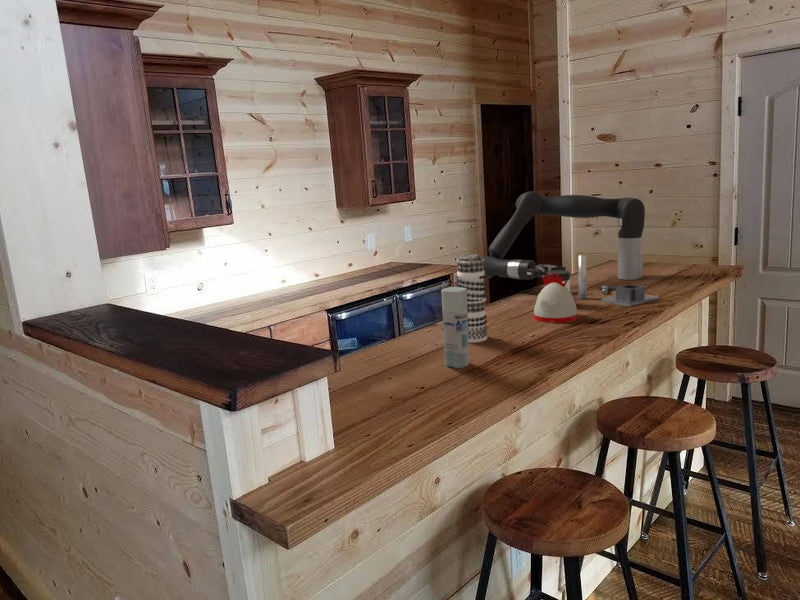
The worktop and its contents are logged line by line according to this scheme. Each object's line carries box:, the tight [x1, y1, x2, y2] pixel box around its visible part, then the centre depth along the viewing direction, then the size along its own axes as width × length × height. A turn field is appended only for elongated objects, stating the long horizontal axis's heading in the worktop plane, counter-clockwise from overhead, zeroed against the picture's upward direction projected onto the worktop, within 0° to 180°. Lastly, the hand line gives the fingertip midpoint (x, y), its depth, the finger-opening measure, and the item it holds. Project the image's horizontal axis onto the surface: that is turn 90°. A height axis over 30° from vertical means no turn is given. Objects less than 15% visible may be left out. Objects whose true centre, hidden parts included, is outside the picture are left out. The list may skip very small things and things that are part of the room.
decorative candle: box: [454, 253, 488, 343], centre depth 184 cm, size 9×9×25 cm
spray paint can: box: [440, 286, 470, 369], centre depth 161 cm, size 6×6×20 cm
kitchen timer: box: [533, 273, 578, 324], centre depth 203 cm, size 14×14×15 cm
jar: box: [546, 269, 571, 292], centre depth 220 cm, size 9×8×12 cm
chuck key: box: [599, 285, 617, 295], centre depth 238 cm, size 10×6×2 cm, turn 155°
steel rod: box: [577, 254, 587, 300], centre depth 228 cm, size 3×3×16 cm
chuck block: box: [600, 283, 660, 307], centre depth 222 cm, size 16×12×5 cm
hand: (560, 271), depth 234 cm, fingers open, 8 cm apart
